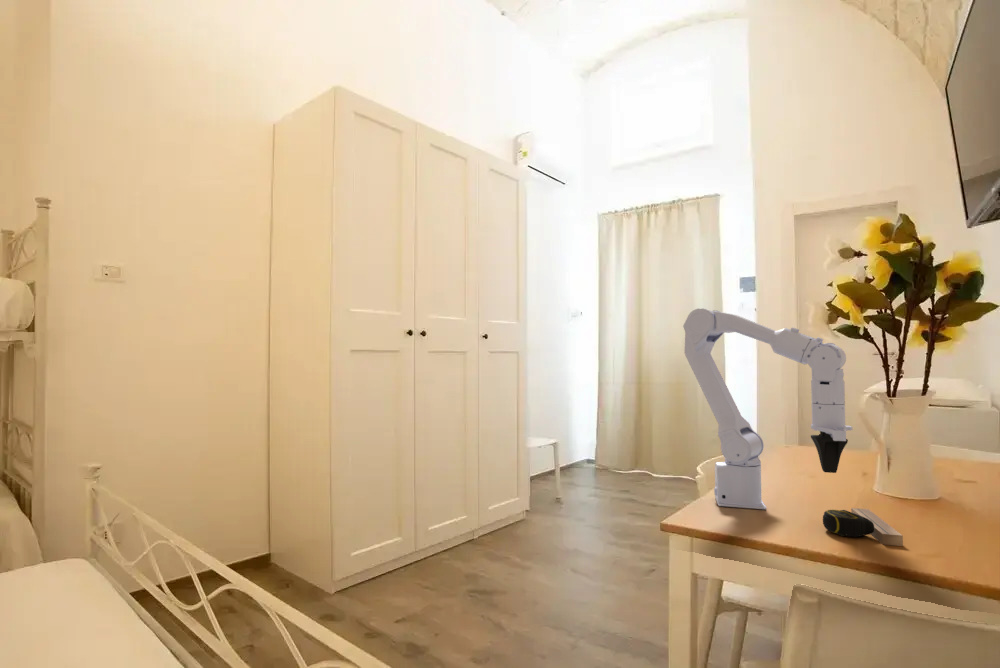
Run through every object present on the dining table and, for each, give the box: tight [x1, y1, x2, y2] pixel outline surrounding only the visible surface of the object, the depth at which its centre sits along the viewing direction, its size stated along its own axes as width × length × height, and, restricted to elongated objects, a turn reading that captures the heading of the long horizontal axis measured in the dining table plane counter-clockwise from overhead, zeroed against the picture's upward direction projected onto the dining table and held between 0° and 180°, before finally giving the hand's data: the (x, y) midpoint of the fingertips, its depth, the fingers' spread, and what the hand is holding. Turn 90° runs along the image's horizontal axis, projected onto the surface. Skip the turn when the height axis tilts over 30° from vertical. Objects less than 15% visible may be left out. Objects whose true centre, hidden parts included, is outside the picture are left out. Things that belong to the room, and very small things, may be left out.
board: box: [850, 507, 904, 547], centre depth 100 cm, size 3×16×2 cm, turn 163°
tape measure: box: [822, 509, 874, 538], centre depth 98 cm, size 7×7×4 cm
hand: (829, 471), depth 107 cm, fingers closed
